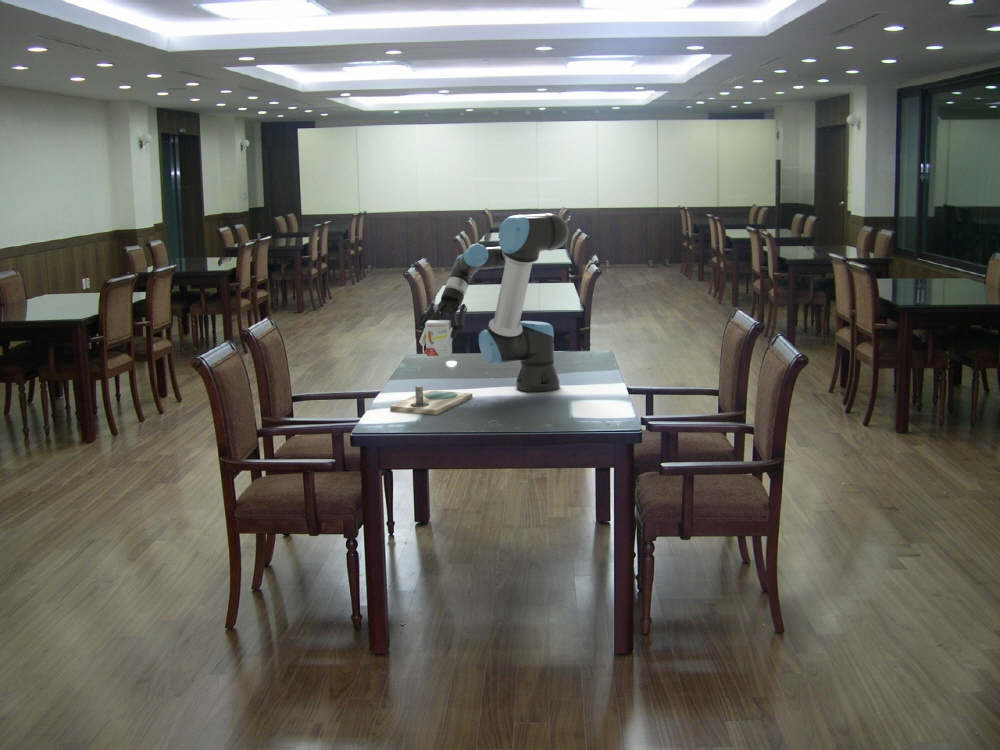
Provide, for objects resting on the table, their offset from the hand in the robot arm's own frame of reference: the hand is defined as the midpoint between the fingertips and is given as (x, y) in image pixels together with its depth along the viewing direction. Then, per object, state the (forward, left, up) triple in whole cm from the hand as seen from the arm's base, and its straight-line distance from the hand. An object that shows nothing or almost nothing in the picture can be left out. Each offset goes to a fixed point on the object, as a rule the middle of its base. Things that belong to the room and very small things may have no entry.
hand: (434, 344), depth 361 cm
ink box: (0, -3, -4) cm, 5 cm away
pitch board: (-8, +17, -17) cm, 25 cm away
